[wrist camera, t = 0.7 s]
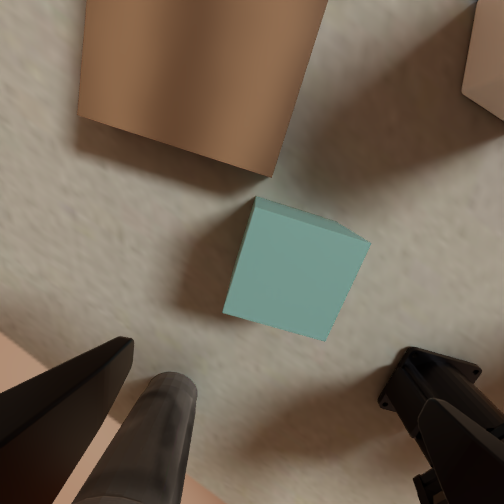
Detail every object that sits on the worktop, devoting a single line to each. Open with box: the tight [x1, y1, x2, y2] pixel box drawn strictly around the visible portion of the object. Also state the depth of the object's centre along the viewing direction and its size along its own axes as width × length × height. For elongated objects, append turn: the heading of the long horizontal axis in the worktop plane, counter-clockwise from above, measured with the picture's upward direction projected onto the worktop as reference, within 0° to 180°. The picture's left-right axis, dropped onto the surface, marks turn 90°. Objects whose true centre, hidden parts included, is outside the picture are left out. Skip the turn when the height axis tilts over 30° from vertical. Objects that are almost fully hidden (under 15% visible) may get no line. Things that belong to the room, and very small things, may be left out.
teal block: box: [222, 196, 371, 341], centre depth 16 cm, size 6×6×6 cm
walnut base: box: [77, 0, 328, 178], centre depth 14 cm, size 11×11×3 cm
